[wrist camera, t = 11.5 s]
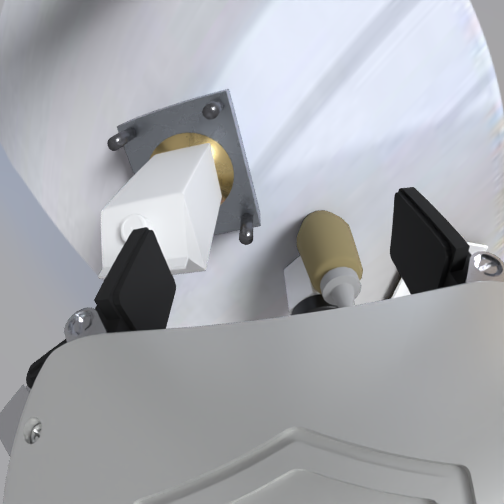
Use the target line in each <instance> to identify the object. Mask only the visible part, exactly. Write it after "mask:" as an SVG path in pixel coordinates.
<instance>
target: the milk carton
mask: <svg viewBox="0 0 504 504" xmlns="http://www.w3.org/2000/svg"><path fill="white" fill-rule="evenodd" d="M221 198H222V194H221V190H220V186H219V181H218V177H217V172H216V168H215V163H214V158H213V154H212V149H211V145H210V143H206V144H200V145H195V146H191V147H186V148H181V149H177V150H172V151H168V152H164V153H160V154H156V155H154V156H153V157H152V158H151V159H150V160H149V161H148V162H147V163H146V164H145V165H144V166H143V167H142V168H141V169H140V170H139V171H138V172H137V173H136V174H135V175H134V176H133V177H132V178H131V179H130V180H129V181H128V182H127V183H126V184H125V185H124V186H123V187H122V188H121V189H120V191H119V192H118V193H117V194H116V195H115V196H114V197H113V198H112V199H111V200H110V201H109V203H108V204H107V205H106V206H105V207H104V208H103V210H102V211H101V247H102V266H103V269H102V270H101V272H100V274H99V275H98V278H99V279H101V278H106V276H107V274H108V272H109V271H110V269H111V267H112V265H113V263H114V262H115V260H116V258H117V256H118V254H119V253H120V251H121V249H122V247H123V246H124V244H125V242H126V240H127V239H128V237H129V235H130V234H131V232H132V231H133V230H134V229H139V228H144V227H147V228H148V229H149V230H153V231H154V233H155V236H156V238H157V241H158V243H159V246H160V248H161V250H162V253H163V255H164V258H165V260H166V262H167V265H168V267H169V269H170V272H171V274H172V275H175V274H184V273H192V272H201V271H206V268H207V263H208V258H209V253H210V249H211V244H212V239H213V234H214V230H215V225H216V221H217V216H218V212H219V207H220V203H221Z"/></svg>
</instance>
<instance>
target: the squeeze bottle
mask: <svg viewBox="0 0 504 504" xmlns="http://www.w3.org/2000/svg"><path fill="white" fill-rule="evenodd" d="M297 248H298V251H299V253H300V256H301V258H302V261H303V263H304V266H305V268H306V271H307V274H308V276H309V279H310V281H311V284H312V285H313V287H314V289H315V290H316V291H317V292H319V293H320V294H322V296H323V298H324V300H325V301H326V302H327V303H329V304H332V305H337V306H338V307H339V308H343V307H349V306H354V305H355V302H354V299H355V298H356V297H357V296H358V295H359V293H360V291H361V283H360V280H361V278H362V272H363V269H362V265H361V262H360V258H359V255H358V252H357V249H356V245H355V242H354V239H353V236H352V233H351V230H350V227H349V225H348V224H347V223H346V222H345V221H344V220H343V219H342V218H340V217H339V216H337V215H335V214H333V213H331V212H328V211H325V210H321V211H315V212H313V213H310V214H309V215H308V216H307V217H306V218H305V219H304V220H303V222H302V225H301V227H300V230H299V232H298V235H297Z"/></svg>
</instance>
